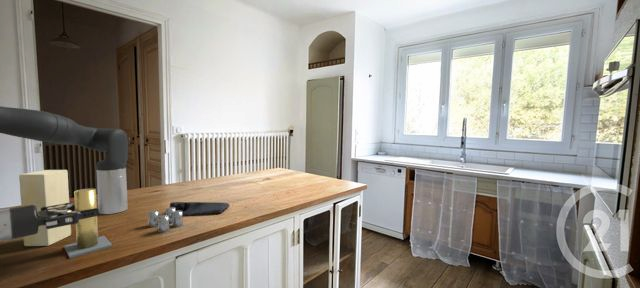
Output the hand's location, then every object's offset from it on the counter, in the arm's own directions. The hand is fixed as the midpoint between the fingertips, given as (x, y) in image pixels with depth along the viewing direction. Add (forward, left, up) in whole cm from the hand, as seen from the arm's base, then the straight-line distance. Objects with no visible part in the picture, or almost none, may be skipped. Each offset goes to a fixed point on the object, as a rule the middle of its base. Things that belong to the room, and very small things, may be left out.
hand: (94, 208), depth 76 cm
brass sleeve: (0, -2, -10) cm, 11 cm away
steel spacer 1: (-3, +16, -11) cm, 20 cm away
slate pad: (0, -2, -11) cm, 11 cm away
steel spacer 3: (-3, +22, -11) cm, 24 cm away
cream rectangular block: (-14, -9, -11) cm, 20 cm away
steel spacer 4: (+3, +22, -11) cm, 24 cm away
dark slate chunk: (-8, +35, -12) cm, 37 cm away
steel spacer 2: (+4, +17, -11) cm, 20 cm away
